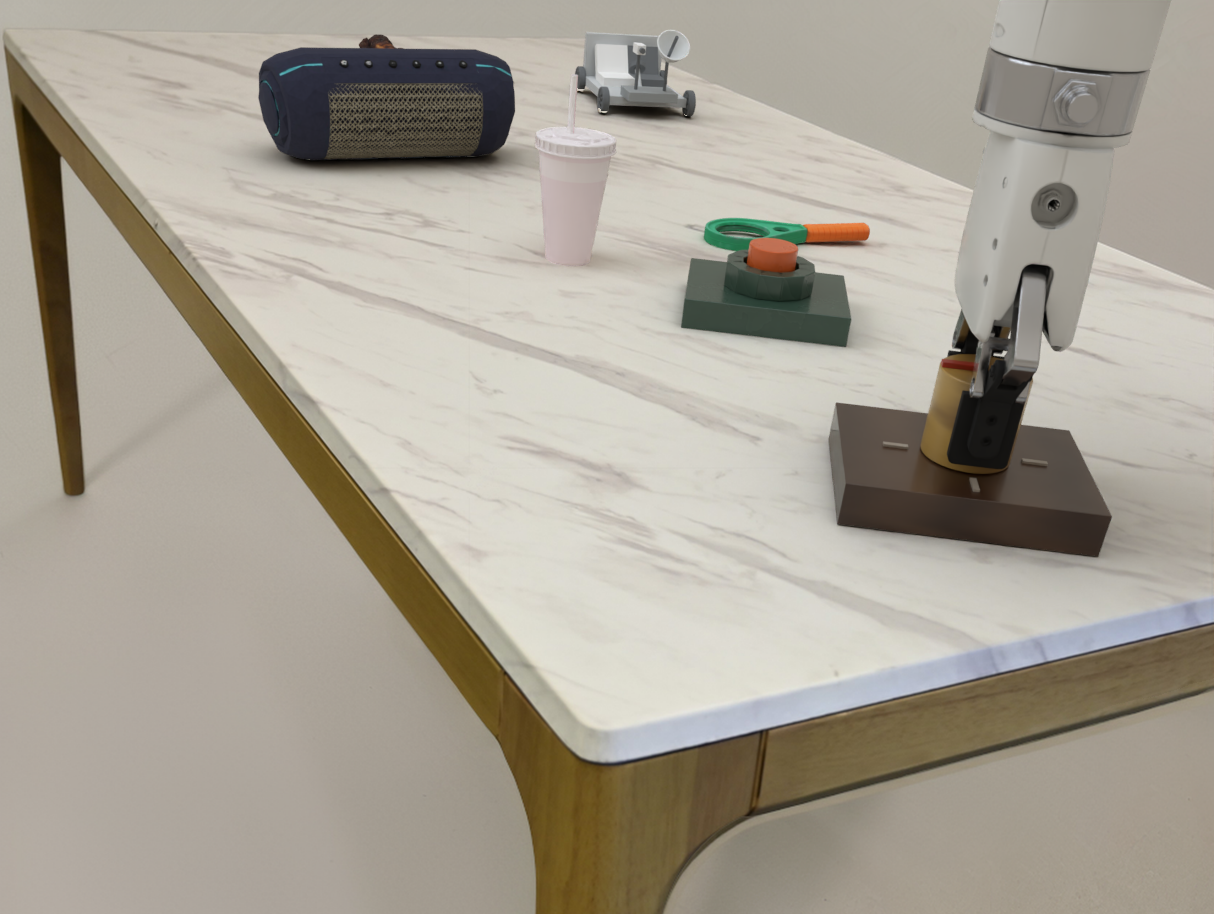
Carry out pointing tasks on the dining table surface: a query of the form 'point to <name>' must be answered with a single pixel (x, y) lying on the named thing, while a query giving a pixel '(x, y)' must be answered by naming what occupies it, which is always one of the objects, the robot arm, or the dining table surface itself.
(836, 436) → the holder base
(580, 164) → the smoothie
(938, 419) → the dial
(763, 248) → the button
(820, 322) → the button box
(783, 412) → the dining table surface
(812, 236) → the magnifying glass
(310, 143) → the portable speaker
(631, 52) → the toy car
